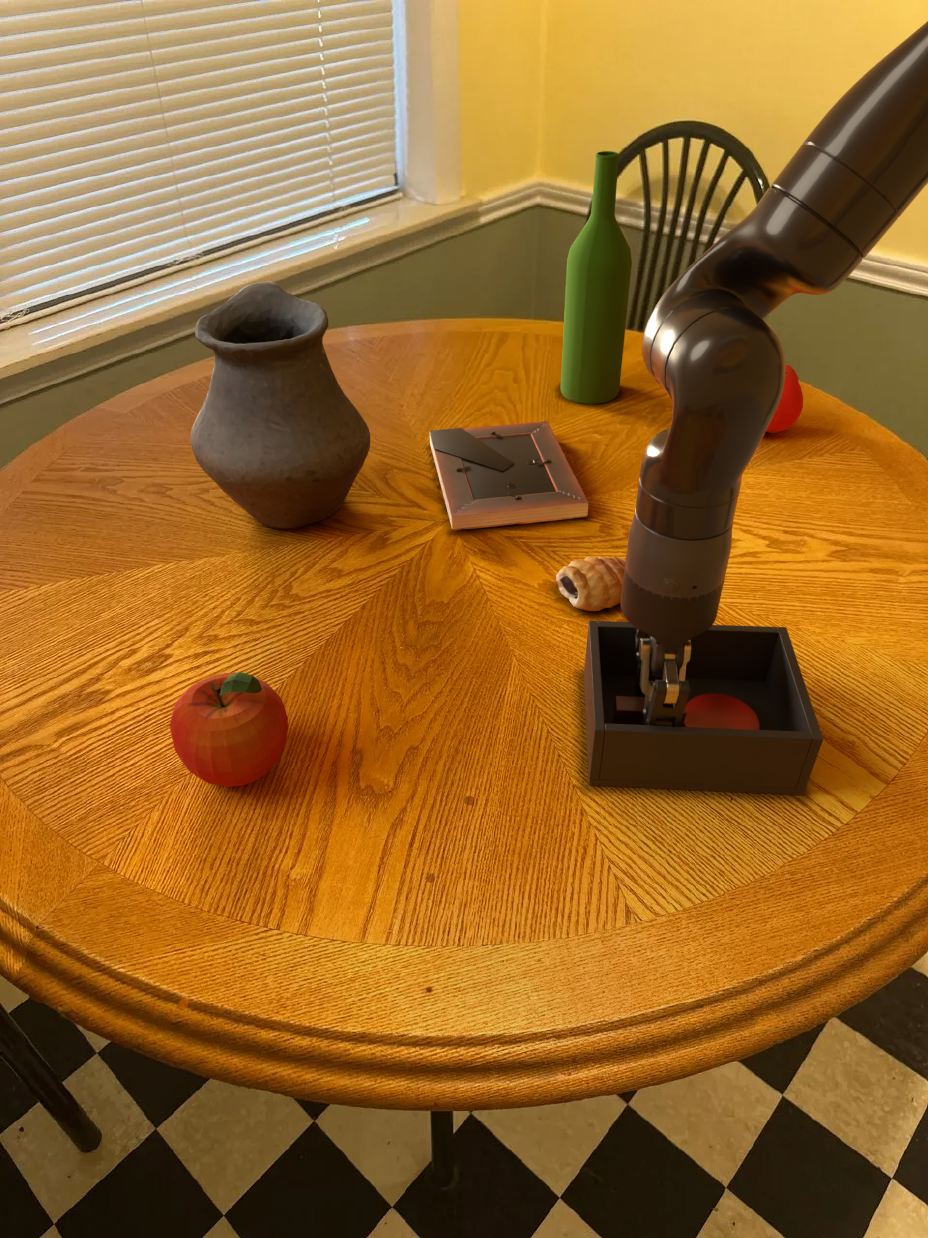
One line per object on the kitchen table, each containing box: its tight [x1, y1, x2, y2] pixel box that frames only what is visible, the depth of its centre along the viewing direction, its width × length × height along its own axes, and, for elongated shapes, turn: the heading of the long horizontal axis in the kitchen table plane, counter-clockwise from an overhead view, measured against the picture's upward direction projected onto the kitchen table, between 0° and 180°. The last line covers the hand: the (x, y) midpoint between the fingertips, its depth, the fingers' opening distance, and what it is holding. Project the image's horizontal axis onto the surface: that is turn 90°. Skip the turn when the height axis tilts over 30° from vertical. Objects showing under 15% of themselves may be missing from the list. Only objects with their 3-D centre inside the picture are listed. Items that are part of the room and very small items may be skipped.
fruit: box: [169, 671, 289, 788], centre depth 72 cm, size 10×10×10 cm
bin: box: [583, 620, 824, 796], centre depth 75 cm, size 18×14×7 cm
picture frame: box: [429, 420, 590, 531], centre depth 110 cm, size 16×2×22 cm
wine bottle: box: [559, 150, 633, 405], centre depth 121 cm, size 9×9×32 cm
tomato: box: [766, 364, 804, 434], centre depth 118 cm, size 11×11×9 cm
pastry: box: [555, 555, 626, 612], centre depth 92 cm, size 9×7×4 cm
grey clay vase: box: [189, 281, 371, 530], centre depth 100 cm, size 21×22×25 cm
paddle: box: [613, 694, 760, 730], centre depth 76 cm, size 13×7×2 cm, turn 86°
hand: (649, 718), depth 76 cm, fingers open, 5 cm apart
